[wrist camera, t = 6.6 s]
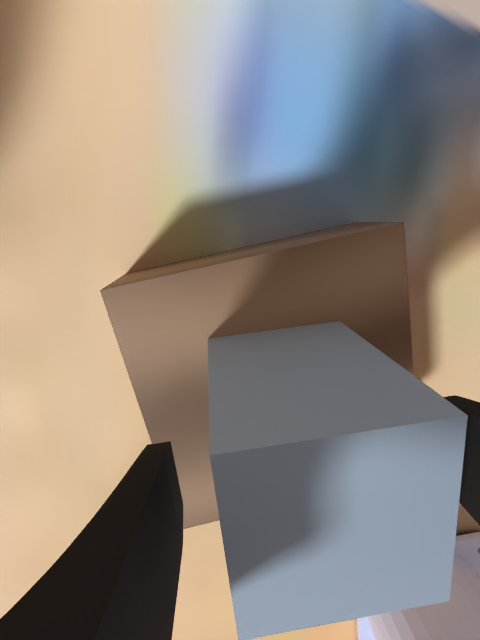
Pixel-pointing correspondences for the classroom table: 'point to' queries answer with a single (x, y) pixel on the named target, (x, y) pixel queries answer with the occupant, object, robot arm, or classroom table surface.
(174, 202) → the classroom table surface
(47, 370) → the classroom table surface
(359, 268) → the walnut base
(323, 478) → the grey block
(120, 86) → the classroom table surface
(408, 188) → the classroom table surface
